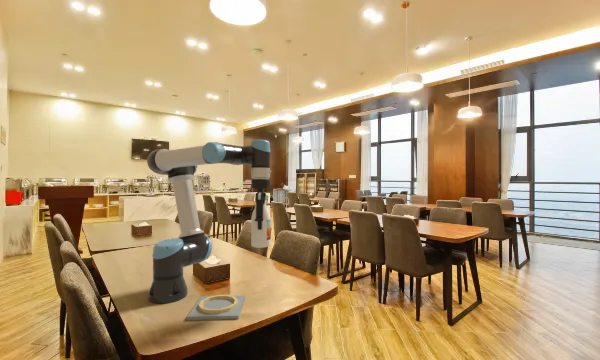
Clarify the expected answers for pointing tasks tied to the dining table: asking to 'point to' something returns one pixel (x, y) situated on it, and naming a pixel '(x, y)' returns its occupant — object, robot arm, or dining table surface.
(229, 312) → the ring board
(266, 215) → the milk bottle
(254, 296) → the dining table surface
